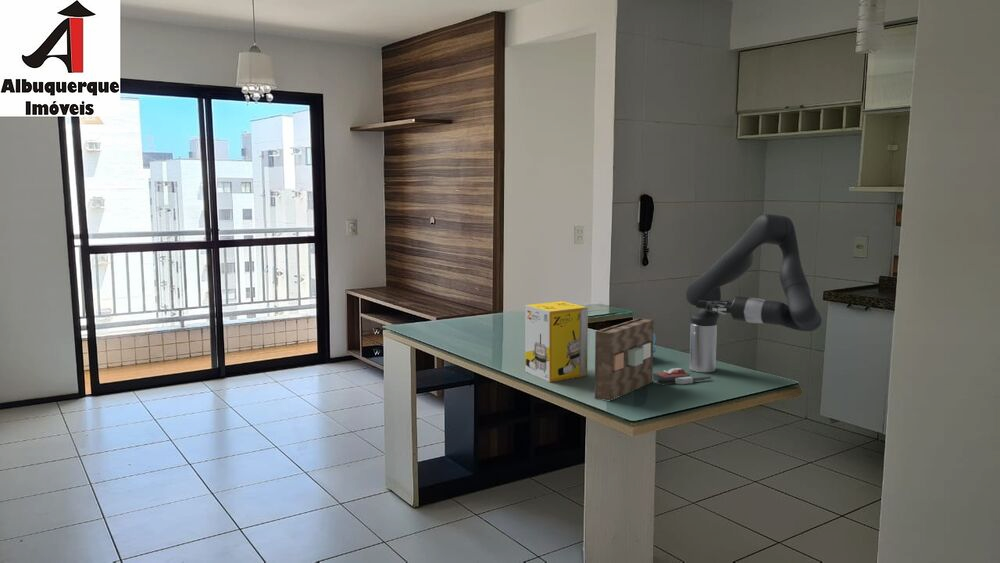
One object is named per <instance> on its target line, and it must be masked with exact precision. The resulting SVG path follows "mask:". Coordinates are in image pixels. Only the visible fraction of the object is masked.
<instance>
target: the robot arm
mask: <svg viewBox="0 0 1000 563" xmlns="http://www.w3.org/2000/svg"><path fill="white" fill-rule="evenodd" d="M764 244H765V245H766V244H768V245H777V246H778V247H779V248H780V250H781V253H782V261H781V265H780V269H779V281H780V285H781V287H782V290H783V293H784V295H785V298H786V301H787V304H786V303H784V302H781V301H777V300H765V299H762V298H756V297H746V296H736V297H735V298H733V300H732V299H731V300H729V299H728V300H727V299H726V300H721V299H722V298H721V296H722V295H721V294H722V291H721V287H722V286H725V285H727V284H730V283H732V282H734V281H736V280H737V279H739V278H741V277H742V276H743V275H744V274H745V273H746V272H747V271H748V270H749V269H751V267H752V265H753V261H754V255H753V254H754V251H756V249H757V248H759V247H760V246H762V245H764ZM806 278H807V277H806V275H805V272H804V269H803V266H802V263H801V257H800V251H799V245H798V240H797V233H796V230H795V225H794V223H793V220H792V219H791V218H789V217H788V216H785V215H780V214H779V215H778V214H772V213H771V214H770V213H765V214H761V215H759V216H758V217H757V218H756V219H755V220H754V221H753V222H752V224H750V226H749V227H748V228H747V230H746V231H745V232H744V234H743V235H742V236H741V237H740V238H739V239H738V240H737V241H736V242H735V243H734V244H733V245H732V246H731V247H730V248H729V249H728V250H727V251H725V253H723V254H722V256H720V257H719V258H718V259H717V260H716V262H714V263H713V264H711V266H710V267H709V268H708V269H707V270H706V271H705V272H704V273H702V274H701V275H700V276H698V277H696V278H695V279H694V280H693V281H692V282H690V283H689V285H688V286H687V288H686V292H685V298H686V300H687V302H688V304H690V305H692V306H695V307H696V308H697V309H699V310H698V311H697V312H696V313H693V314H692V315H691V317H690V334H689V335H690V336H689V337H690V338H689V339H690V342H689V368H688V369H689V371H692V372H697V373H713V372H716V364H717V363H716V362H717V361H716V360H717V334H718V333H717V330H718V329H717V327H718V325H717V324H718V319H719V317H720V314H721V315H728V314H731V318H732V320H734V321H736V322H743V323H750V324H752V323H753V324H765V325H766V324H767V325H775V326H776V325H777V326H782V327H785V328H788V329H790V330H791V329H792V330H796V331H801V332H813V331H816V330H817V329H818V328H819V327H820V326H821V325H822V322H823V320H822V318H823V317H822V316H821V313H820V312H819V311H818V309H817V307H816V305H815V303H814V300H813V298H812V296H811V290H810V285H809V283H808V280H807V279H806Z"/></svg>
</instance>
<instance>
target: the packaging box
mask: <svg viewBox="0 0 1000 563" xmlns="http://www.w3.org/2000/svg"><path fill="white" fill-rule="evenodd" d="M588 313H589V308H588V306H584V305H580V304H575V303H571V302H568V301H565V300H560V301H559V300H558V301H551V302H541V303H533V304H532V303H531V304H530V303H529V304H525V305H524V353H525V354H524V357H525V358H524V362H525V363H524V364H525V366H524V367H525V368H524V369H525V373H527V372H528V373H527V374H529V373H530V375H531V376H533V377H537V378H538V379H541V380H543V381H546V382H548V383H553V382H558V381H559V382H560V381H563V380H564V379H565V380H570V379H569V378H571V379H575V377H576V378H581V377H587V376H588V340H589V338H588V337H589V335H588V330H589V328H588V326H589V325H588V323H589V322H588V320H589V318H588V317H589V316H588Z"/></svg>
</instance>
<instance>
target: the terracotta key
mask: <svg viewBox="0 0 1000 563" xmlns="http://www.w3.org/2000/svg"><path fill="white" fill-rule="evenodd" d="M623 367H624V353H623V352H618V353H615V354H613V371H617V370H619V369H622V368H623Z"/></svg>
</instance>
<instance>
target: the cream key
mask: <svg viewBox="0 0 1000 563" xmlns="http://www.w3.org/2000/svg"><path fill="white" fill-rule="evenodd" d="M642 348H643V360H644V359H647V358H649V357H651V343H650V342H646V343H643V344H642Z"/></svg>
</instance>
